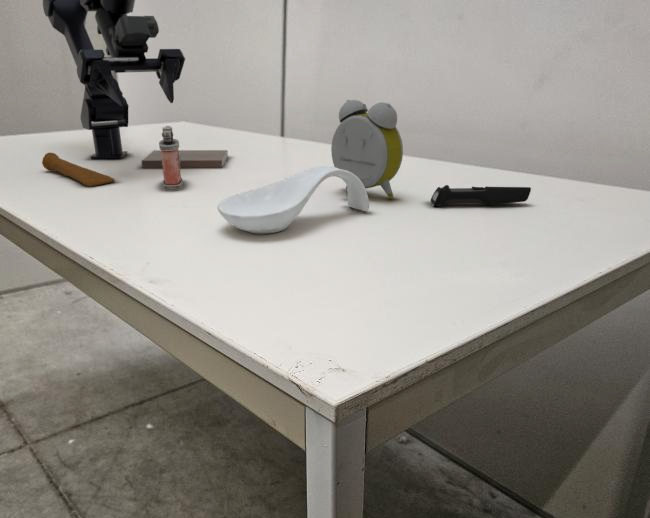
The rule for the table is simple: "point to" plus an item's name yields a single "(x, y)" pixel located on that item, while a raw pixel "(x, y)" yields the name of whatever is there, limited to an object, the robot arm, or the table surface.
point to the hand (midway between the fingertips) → (148, 102)
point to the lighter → (170, 160)
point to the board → (190, 159)
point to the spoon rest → (286, 200)
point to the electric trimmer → (480, 195)
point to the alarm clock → (368, 143)
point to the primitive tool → (74, 171)
